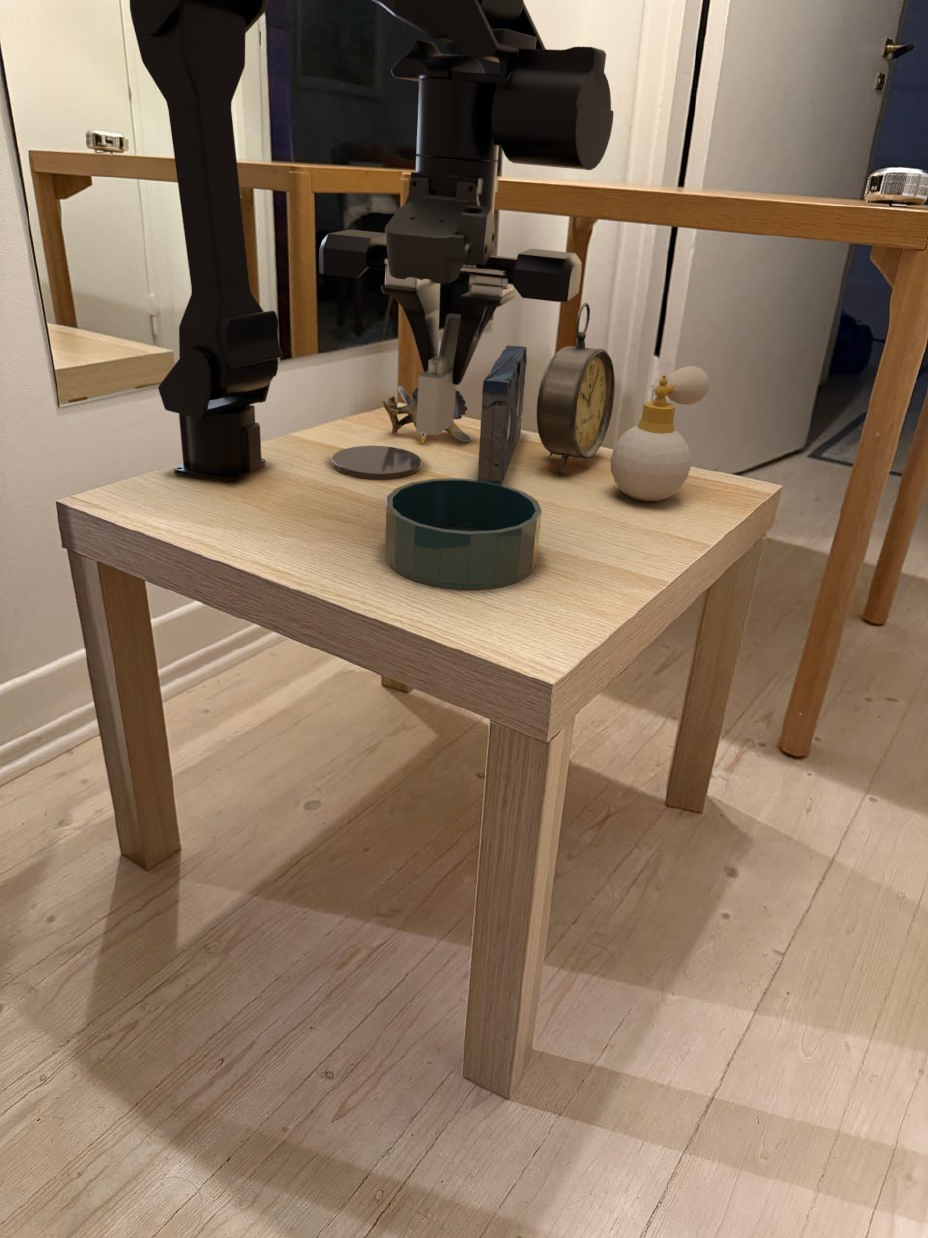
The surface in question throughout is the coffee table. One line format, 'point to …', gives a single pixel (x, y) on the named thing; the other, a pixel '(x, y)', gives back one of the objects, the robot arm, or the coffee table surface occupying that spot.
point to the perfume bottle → (658, 441)
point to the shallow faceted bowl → (461, 533)
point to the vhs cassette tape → (501, 413)
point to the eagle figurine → (412, 414)
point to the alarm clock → (576, 399)
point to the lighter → (439, 384)
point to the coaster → (376, 462)
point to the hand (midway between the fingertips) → (443, 381)
